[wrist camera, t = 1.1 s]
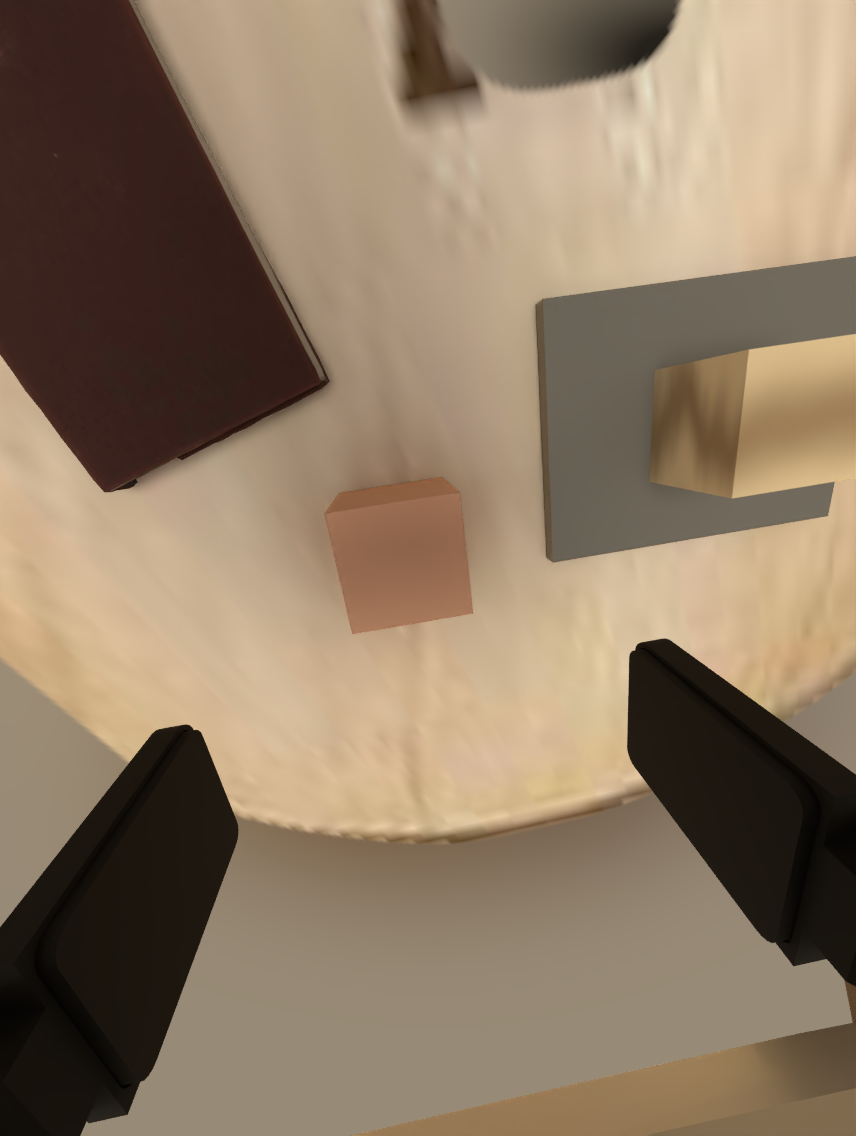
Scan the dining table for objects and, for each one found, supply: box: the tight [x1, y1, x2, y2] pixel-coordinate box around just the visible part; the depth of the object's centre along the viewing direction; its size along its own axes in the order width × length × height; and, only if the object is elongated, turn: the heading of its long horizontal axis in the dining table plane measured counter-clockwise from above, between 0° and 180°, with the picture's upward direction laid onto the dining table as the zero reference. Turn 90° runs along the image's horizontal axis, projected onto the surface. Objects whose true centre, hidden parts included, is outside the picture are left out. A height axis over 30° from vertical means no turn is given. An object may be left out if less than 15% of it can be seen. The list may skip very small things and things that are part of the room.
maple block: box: [650, 334, 856, 498], centre depth 20 cm, size 6×6×6 cm
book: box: [0, 0, 329, 492], centre depth 17 cm, size 12×19×3 cm, turn 25°
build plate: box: [536, 256, 856, 562], centre depth 23 cm, size 14×18×1 cm
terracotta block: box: [325, 477, 473, 634], centre depth 22 cm, size 6×6×6 cm
